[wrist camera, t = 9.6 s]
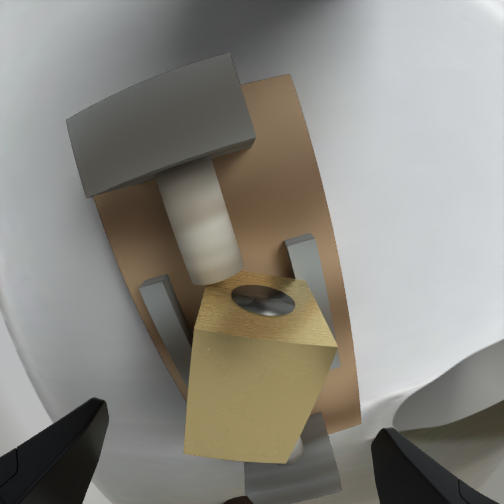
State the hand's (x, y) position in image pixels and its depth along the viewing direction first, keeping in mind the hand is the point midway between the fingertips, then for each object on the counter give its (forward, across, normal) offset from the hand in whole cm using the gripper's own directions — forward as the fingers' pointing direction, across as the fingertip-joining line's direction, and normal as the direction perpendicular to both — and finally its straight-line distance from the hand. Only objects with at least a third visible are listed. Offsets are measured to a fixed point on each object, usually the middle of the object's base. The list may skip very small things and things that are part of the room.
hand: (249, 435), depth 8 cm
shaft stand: (+8, 0, 0) cm, 8 cm away
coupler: (+6, 0, 0) cm, 6 cm away
